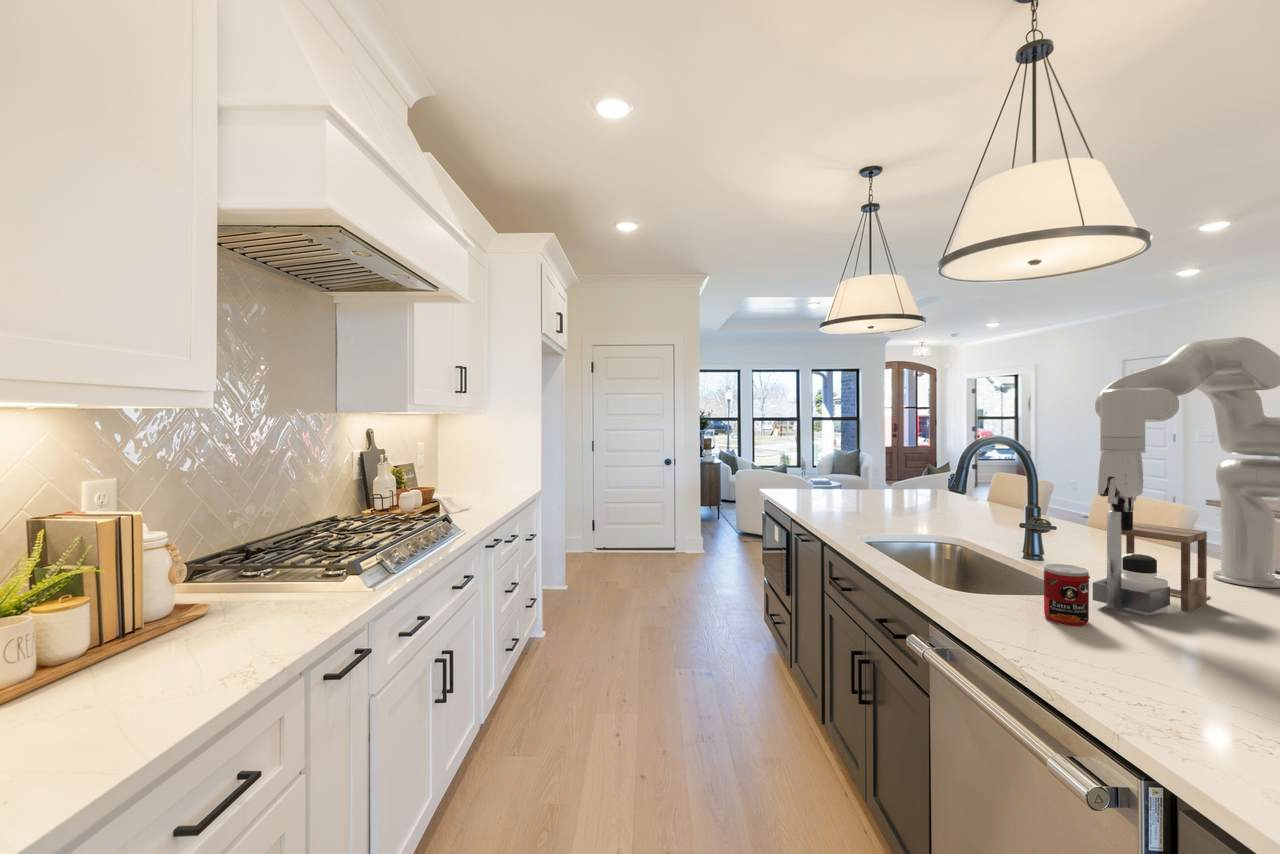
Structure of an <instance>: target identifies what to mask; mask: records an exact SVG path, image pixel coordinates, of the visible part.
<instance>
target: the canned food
mask: <svg viewBox="0 0 1280 854" xmlns="http://www.w3.org/2000/svg"><path fill="white" fill-rule="evenodd" d="M1089 575H1090V574H1089V570H1088V569H1086V568H1083V567H1081V566H1077V565H1072V564H1064V563H1063V564H1061V563H1050V564H1045V565H1044V566H1043V615H1044V617H1045V619H1047V620H1048V621H1050V622H1052V623H1055V624H1058V625H1062V624H1063V625H1064V626H1068V625H1069V626H1070V627H1083V626H1087V625H1088V623H1089V621H1090V620H1089V619H1090V616H1089V615H1090V611H1089V610H1090V603H1089V602H1090V576H1089Z"/></svg>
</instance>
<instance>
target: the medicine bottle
mask: <svg viewBox="0 0 1280 854" xmlns="http://www.w3.org/2000/svg"><path fill="white" fill-rule="evenodd" d="M1121 572H1123V574H1121V587H1122V588H1126V589H1131V590H1136V591H1141V592H1146V593H1147V592H1150V591H1153V590H1155V589H1160V588H1167V587H1168V586H1169V581H1168V580H1167V579H1165V578H1160V577H1157V576H1158V561H1157V559H1156V558H1155V557H1153V556H1150V555H1146V554H1139V553H1134V554H1121ZM1168 608H1169V607H1168V606H1166V607H1164V608H1161V609H1159V610H1156V611H1154V612H1152V613H1147V612H1143V611H1138V610H1134V609H1129V608H1124V609H1123V610H1125V611H1128V612H1132V613H1134V614H1135V613H1136V614H1139V615H1142V616H1149V615H1150V616H1151V615H1157V614H1164V613H1168V610H1169V609H1168Z"/></svg>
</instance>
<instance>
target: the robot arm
mask: <svg viewBox="0 0 1280 854" xmlns="http://www.w3.org/2000/svg"><path fill="white" fill-rule="evenodd" d="M1278 387H1280V355H1279V354H1278V353H1276V352H1275V351H1273V350H1272V349H1270V348H1269V347H1268V346H1266V345H1264V344H1263V343H1261V342H1259V341H1258V340H1255V339H1253V338H1250V337H1245V336H1237V337H1235V336H1234V337H1225V338H1216V339H1213V338H1212V339H1205V340H1204V339H1203V340H1197V341H1192V342H1190V343H1186V344H1184V345H1182V346H1181V347H1180V348H1178V349H1177V350H1176V351H1175V352H1174V353H1173V354H1171V355H1170V356H1168V358H1166V359H1165V360H1163V362H1161V363H1160V364H1158V365H1154V366H1152V367H1148V368H1145V369H1142V370H1139V371H1137V372H1134V373H1131V374H1127V375H1125V376H1123V377H1121V378H1118V379H1116V380H1115V381H1113V382H1111V383H1110V384H1108V385H1107V386H1106V387H1105V388H1104V389H1102V391H1101V392H1100V393H1099V394H1098V395H1097V398H1096V399H1095V403H1094V409H1095V413H1096V415H1097V416H1098V417H1099V418H1100V420H1099V422H1100V427H1099V428H1100V431H1099V434H1100V437H1099V438H1100V440H1099V441H1100V445H1099V446H1100V448H1099V449H1100V450H1099V451H1100V452H1101V454H1100V460H1099V467H1098V480H1097V493H1098V495H1099V496H1100V497H1102V498H1104V497H1107V504H1109V505H1110V511H1120V512H1121V530H1126V531H1129V530H1132V529H1133V523H1134V508H1135V507H1134V506H1135V502H1136V501H1137V497H1139V496H1141V495H1142V494H1143V491H1144V467H1143V465H1144V464H1143V457H1142V454H1143V453H1146V423H1149V422H1150V423H1154V422H1157V423H1158V422H1165V421H1167V420H1170V419H1172V418H1173V417H1174V416H1175V415H1176V414H1177V413H1178V411H1179V408H1180V400H1179V398H1178V397H1179V396H1184V395H1187V394H1190V393H1191V392H1193V391H1194V390H1198V391H1200V392H1202V393H1203V394H1204V395H1205V396H1206V397H1207V398H1208V399H1209V400H1210V402H1211V404H1212V407H1213V410H1214V412H1213V413H1214V417H1215V424H1216V430H1217V436H1218V441H1219V445H1220V448H1221V449H1222V450H1223V451H1224V452H1225V453H1227V454H1228V453H1229V454H1232V455H1239V456H1240V455H1242V456H1259V457H1263V456H1264V457H1266V456H1267V457H1278V458H1280V417H1279V416H1277V417H1271V416H1266V415H1265V413H1264V409H1263V407H1264V406H1263V401H1262V397H1261V395H1260V394H1259V393H1258V392H1257V391H1267V390H1273V389H1276V388H1278ZM1215 480H1216V484H1217V487H1218V492H1219V497H1220V498H1219V499H1220V570H1216V571H1213V572H1212V577H1213V578H1214V579H1216V580H1219V581H1222V582H1225V583H1229V584H1232V585H1233V584H1234V585H1239V586H1246V587H1252V588H1253V587H1254V588H1255V587H1256V588H1264V589H1278V588H1280V578H1277V577H1276V569H1275V568H1276V516H1275V513H1274V511H1273V509H1272V507H1270V505H1269V504H1268V503H1267V502H1266V501H1265V500H1264V499H1263V498H1272V499H1273V498H1274V499H1280V459H1273V458H1272V459H1271V458H1270V459H1269V458H1255V457H1253V458H1251V457H1237V458H1236V457H1234V458H1229V459H1226V460H1223V461H1222V462H1220V463H1218V466H1217V467H1216V470H1215ZM1268 573H1269V574H1268ZM1272 574H1275V575H1272Z"/></svg>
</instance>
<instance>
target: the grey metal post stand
mask: <svg viewBox="0 0 1280 854" xmlns="http://www.w3.org/2000/svg"><path fill="white" fill-rule="evenodd" d="M1121 556H1122V534H1121V512H1120V511H1112V510H1106V578H1103V579H1100V580H1096V581H1094V582H1093V581H1092V601H1095V602H1098V603H1102V604H1103V603H1104V604H1106V606H1107V608H1108V609H1112V610H1116V611H1121V610H1124V608H1129V609H1134V610H1138V611H1143V612H1147V613H1152V612H1154V611H1156V610H1159V609H1161V608H1164V607H1166V606H1170V605H1171V596H1170V588H1171V586H1169V585H1168V587H1167V588H1160V589H1155V590H1153V591H1150V592H1147V593H1146V592H1141V591H1136V590H1131V589H1126V588H1122V587H1121Z"/></svg>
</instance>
